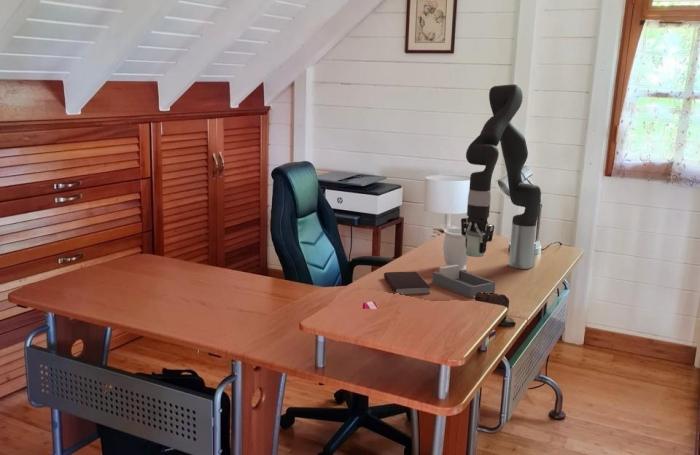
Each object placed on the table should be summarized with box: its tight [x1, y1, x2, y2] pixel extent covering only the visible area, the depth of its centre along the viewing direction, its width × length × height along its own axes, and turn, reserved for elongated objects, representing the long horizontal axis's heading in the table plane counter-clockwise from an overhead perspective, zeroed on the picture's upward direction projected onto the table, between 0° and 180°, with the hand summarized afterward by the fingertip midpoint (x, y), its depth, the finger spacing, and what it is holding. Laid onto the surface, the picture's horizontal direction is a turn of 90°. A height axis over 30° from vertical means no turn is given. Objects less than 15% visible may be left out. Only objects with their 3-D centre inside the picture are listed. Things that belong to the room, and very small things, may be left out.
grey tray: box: [431, 270, 496, 299], centre depth 241 cm, size 11×20×4 cm, turn 34°
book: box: [383, 271, 431, 295], centre depth 242 cm, size 12×19×3 cm, turn 9°
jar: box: [442, 228, 470, 271], centre depth 264 cm, size 11×10×15 cm
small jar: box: [466, 230, 485, 258], centre depth 234 cm, size 6×6×8 cm
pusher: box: [438, 265, 460, 279], centre depth 246 cm, size 8×2×5 cm, turn 124°
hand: (475, 250), depth 234 cm, fingers closed on small jar, 6 cm apart
